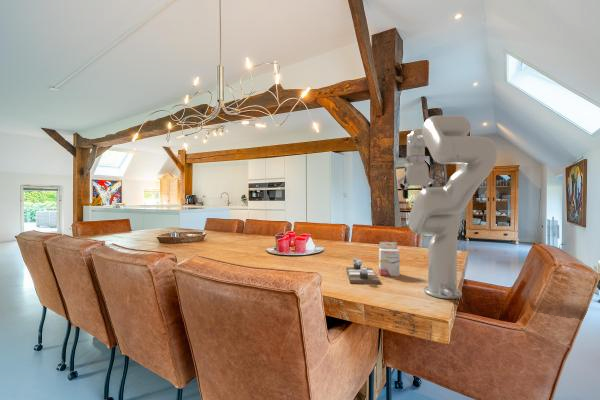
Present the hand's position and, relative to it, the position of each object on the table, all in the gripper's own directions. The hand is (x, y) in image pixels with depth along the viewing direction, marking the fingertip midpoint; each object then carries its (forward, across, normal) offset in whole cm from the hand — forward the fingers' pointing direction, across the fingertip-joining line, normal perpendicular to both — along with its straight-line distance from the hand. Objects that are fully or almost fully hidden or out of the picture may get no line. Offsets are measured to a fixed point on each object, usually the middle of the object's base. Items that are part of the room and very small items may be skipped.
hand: (415, 198), depth 132 cm
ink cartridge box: (+35, -12, +3) cm, 37 cm away
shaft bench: (+35, -25, +2) cm, 43 cm away
